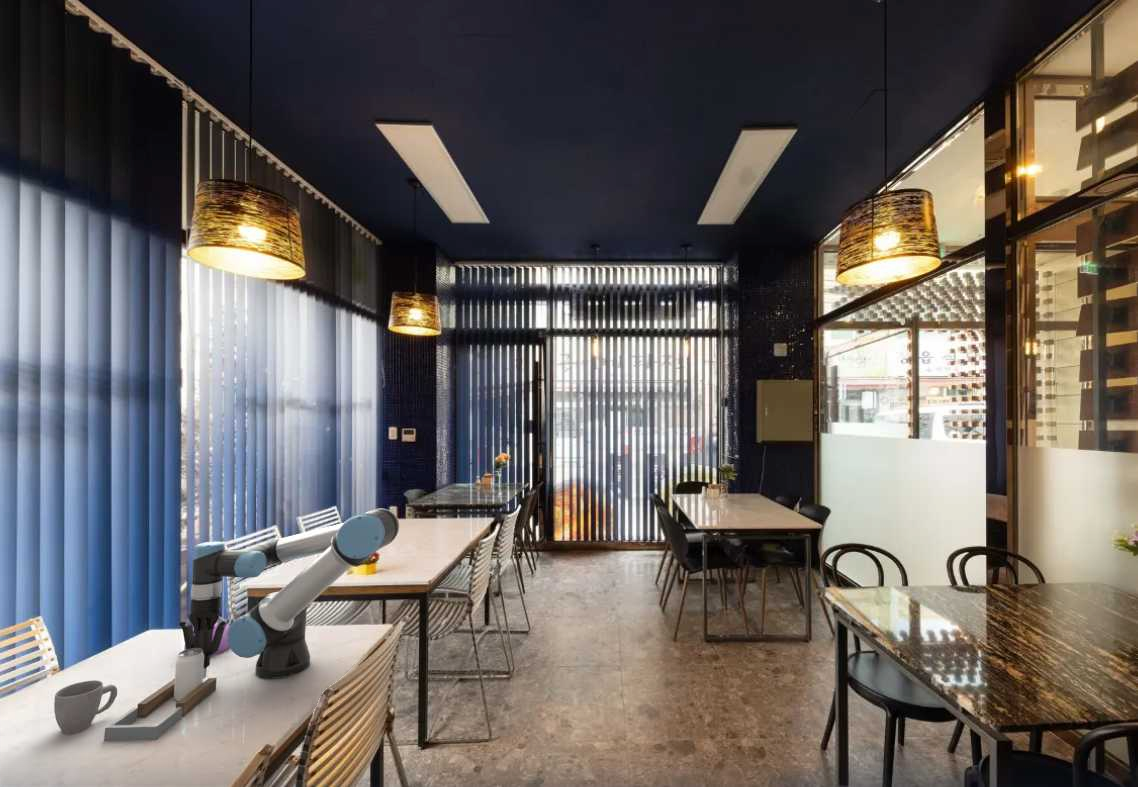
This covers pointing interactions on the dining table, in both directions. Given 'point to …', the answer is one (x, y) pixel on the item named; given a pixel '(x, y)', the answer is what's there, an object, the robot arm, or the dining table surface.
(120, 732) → the bay
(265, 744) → the dining table surface
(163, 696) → the chute
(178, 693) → the can
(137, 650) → the dining table surface
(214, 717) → the dining table surface
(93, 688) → the mug
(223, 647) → the teapot
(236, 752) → the dining table surface
